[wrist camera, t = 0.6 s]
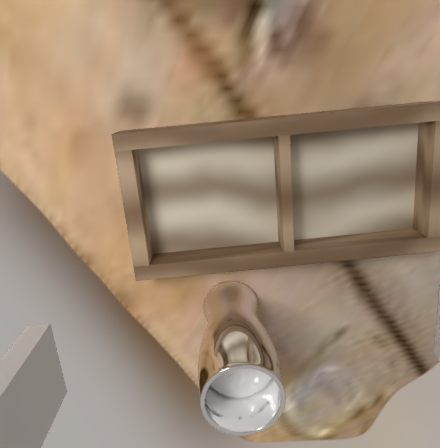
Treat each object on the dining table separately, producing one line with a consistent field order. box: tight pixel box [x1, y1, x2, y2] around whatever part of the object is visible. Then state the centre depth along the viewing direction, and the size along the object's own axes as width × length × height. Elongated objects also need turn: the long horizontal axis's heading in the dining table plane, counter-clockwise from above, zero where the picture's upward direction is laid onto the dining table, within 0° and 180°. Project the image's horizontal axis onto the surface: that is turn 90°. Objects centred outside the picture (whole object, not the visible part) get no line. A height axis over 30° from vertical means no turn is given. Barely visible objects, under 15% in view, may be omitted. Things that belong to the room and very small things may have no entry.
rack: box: [112, 102, 440, 281], centre depth 39 cm, size 14×30×4 cm, turn 95°
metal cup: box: [198, 281, 286, 436], centre depth 38 cm, size 7×7×15 cm
